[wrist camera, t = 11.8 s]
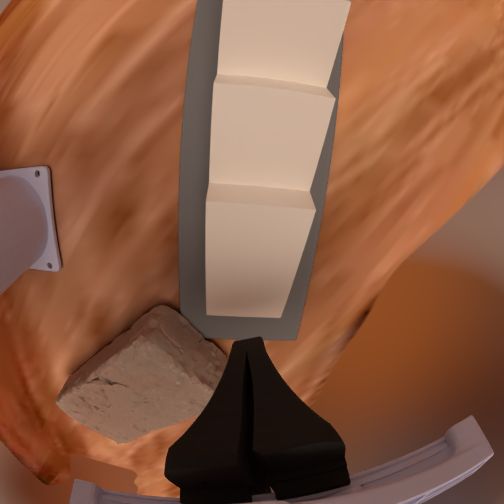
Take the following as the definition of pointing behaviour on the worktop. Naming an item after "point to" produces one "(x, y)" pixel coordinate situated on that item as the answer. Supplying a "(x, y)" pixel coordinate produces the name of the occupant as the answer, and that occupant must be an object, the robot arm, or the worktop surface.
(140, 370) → the brick
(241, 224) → the ivory domino
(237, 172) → the ivory domino
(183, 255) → the mat
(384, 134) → the worktop surface
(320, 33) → the ivory domino
